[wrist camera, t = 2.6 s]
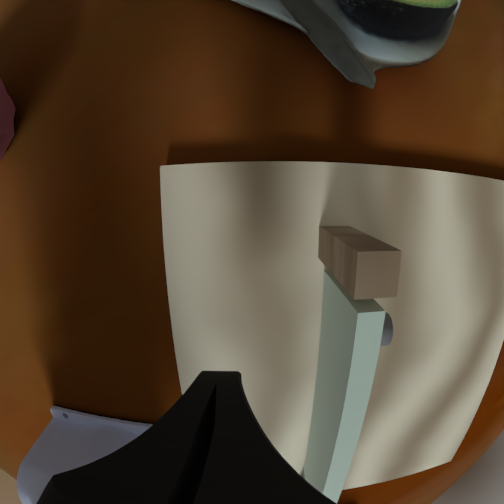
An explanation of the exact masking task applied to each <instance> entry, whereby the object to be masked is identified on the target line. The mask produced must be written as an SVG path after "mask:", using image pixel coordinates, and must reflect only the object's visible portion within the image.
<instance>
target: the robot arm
mask: <svg viewBox="0 0 504 504" xmlns="http://www.w3.org/2000/svg"><path fill="white" fill-rule="evenodd" d="M50 410H51V413H52V415H53V417H54V418H53V419H52V420H51V421H50V423H49V424H48V425H47V427H46V428H45V430H44V431H43V432H42V434H41V435H40V436H39V438H38V439H37V441H36V442H35V443H34V445H33V446H32V448H31V449H30V450H29V452H28V453H27V455H26V456H25V458H24V459H23V461H22V463H21V464H20V467H19V470H18V474H17V491H18V494H19V497H20V499H21V501H22V503H23V504H336V503H335V502H333V501H332V500H331V499H329V498H328V497H326V496H325V495H323V494H322V493H321V492H320V491H318V490H317V489H316V488H314V487H313V486H312V485H311V484H310V483H308V482H307V481H306V480H305V479H304V478H303V477H302V476H300V475H299V474H298V473H297V472H296V470H295V469H294V468H293V467H292V466H291V465H290V464H289V463H288V462H287V461H286V460H285V459H284V458H283V457H282V456H281V454H280V453H279V452H278V451H277V449H276V448H275V447H274V446H273V444H272V443H271V441H270V440H269V439H268V437H267V436H266V434H265V433H264V431H263V430H262V428H261V426H260V424H259V423H258V421H257V419H256V417H255V415H254V413H253V411H252V409H251V407H250V405H249V402H248V400H247V398H246V395H245V392H244V389H243V385H242V376H241V373H240V372H239V371H201V372H200V373H199V375H198V376H197V377H196V379H195V380H194V381H193V383H192V384H191V385H190V386H189V388H188V389H187V390H186V391H185V393H184V394H183V395H182V396H181V397H180V398H179V399H178V401H177V402H176V403H175V404H174V405H173V406H172V407H171V408H170V409H169V410H168V411H167V412H166V413H165V414H164V415H163V416H162V417H161V418H160V419H159V420H158V421H157V422H156V423H154V424H146V423H138V422H131V421H125V420H119V419H113V418H107V417H102V416H97V415H92V414H87V413H82V412H78V411H74V410H69V409H65V408H61V407H58V406H52V407H51V409H50Z"/></svg>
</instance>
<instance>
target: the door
mask: <svg viewBox="0 0 504 504" xmlns="http://www.w3.org/2000/svg"><path fill="white" fill-rule="evenodd" d="M385 312H386V311H385V310H384V309H383V308H382V307H381V306H380V305H379V304H378V303H377V302H376V301H375V300H374V299H357V300H354V299H353V298H352V297H351V296H350V294H349V293H348V292H347V291H346V290H345V288H344V287H343V286H342V285H341V284H340V283H339V281H338V280H337V279H336V278H335V277H334V276H333V274H332V273H331V272H330V271H329V270H327V271H324V285H323V303H322V318H321V331H320V343H319V355H318V365H317V375H316V385H315V393H314V402H313V410H312V418H311V425H310V432H309V439H308V446H307V453H306V459H305V465H304V470H303V471H302V472H303V478H304V479H305V480H306V481H307V482H308V483H310V484H311V485H312V486H313V487H314V488H316V489H317V490H318V491H320V492H321V493H322V494H323V495H325V496H326V497H328V498H329V499H331V500H332V501H333V502H335V503H336V504H337V502H338V499H339V496H340V494H341V491H342V488H343V486H344V483H345V480H346V477H347V474H348V471H349V468H350V465H351V462H352V459H353V456H354V453H355V449H356V446H357V443H358V439H359V436H360V432H361V429H362V425H363V421H364V417H365V414H366V410H367V406H368V402H369V397H370V393H371V389H372V384H373V380H374V375H375V370H376V365H377V360H378V355H379V349H380V346H387V345H389V344H390V343H391V341H392V338H393V323H392V319H391V317H390V315H389V314H388V313H385Z"/></svg>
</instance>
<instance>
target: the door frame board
mask: <svg viewBox="0 0 504 504" xmlns="http://www.w3.org/2000/svg"><path fill="white" fill-rule="evenodd" d="M160 185H161V210H162V229H163V244H164V257H165V269H166V280H167V290H168V300H169V309H170V317H171V325H172V333H173V341H174V348H175V355H176V361H177V368H178V374H179V380H180V386H181V392H182V395H183V394H184V393H185V391H186V390H187V389H188V388H189V386H190V385H191V384H192V383H193V381H194V380H195V379H196V377H197V376H198V375H199V373H200V372H201V371H239V372H240V373H241V376H242V385H243V389H244V392H245V395H246V398H247V400H248V402H249V405H250V407H251V409H252V411H253V413H254V415H255V417H256V419H257V421H258V423H259V424H260V426H261V428H262V430H263V431H264V433H265V434H266V436H267V437H268V439H269V440H270V441H271V443H272V444H273V446H274V447H275V448H276V449H277V451H278V452H279V453H280V454H281V456H282V457H283V458H284V459H285V460H286V461H287V462H288V463H289V464H290V465H291V466H292V467H293V468H294V469H295V470H296V472H297V473H298V474H299V475H300V476H302V477H303V472H302V471H303V470H304V465H305V459H306V453H307V446H308V439H309V432H310V425H311V418H312V410H313V402H314V393H315V385H316V375H317V365H318V355H319V343H320V331H321V318H322V303H323V285H324V271H327V270H329V271H330V272H331V273H332V274H333V276H334V277H335V278H336V279H337V280H338V281H339V283H340V284H341V285H342V286H343V287H344V288H345V290H346V291H347V292H348V293H349V294H350V296H351V297H352V298H353V299H354V300H357V299H374V300H375V301H376V302H377V303H378V304H379V305H380V306H381V307H382V308H383V309H384V310H385V311H386V312H385V313H388V314H389V315H390V317H391V319H392V323H393V338H392V341H391V343H390V344H389V345H387V346H380V349H379V355H378V360H377V365H376V370H375V375H374V380H373V384H372V389H371V393H370V397H369V402H368V406H367V410H366V414H365V417H364V421H363V425H362V429H361V432H360V436H359V439H358V443H357V446H356V449H355V453H354V456H353V459H352V462H351V465H350V468H349V471H348V474H347V477H346V480H345V483H344V486H343V488H342V490H345V489H350V488H356V487H361V486H366V485H371V484H375V483H380V482H384V481H388V480H392V479H396V478H400V477H403V476H407V475H410V474H414V473H417V472H420V471H423V470H426V469H430V468H432V467H435V466H438V465H441V464H444V463H447V462H449V461H451V460H452V458H453V456H454V455H455V453H456V451H457V449H458V447H459V446H460V444H461V442H462V440H463V438H464V436H465V434H466V432H467V430H468V428H469V426H470V424H471V422H472V420H473V418H474V416H475V414H476V412H477V409H478V407H479V405H480V403H481V400H482V398H483V396H484V393H485V391H486V388H487V386H488V383H489V381H490V378H491V376H492V373H493V370H494V367H495V365H496V362H497V359H498V356H499V353H500V350H501V346H502V343H503V340H504V181H503V180H498V179H492V178H486V177H480V176H474V175H467V174H460V173H453V172H445V171H437V170H428V169H419V168H409V167H398V166H386V165H373V164H357V163H336V162H304V161H248V162H215V163H195V164H178V165H164V166H160Z"/></svg>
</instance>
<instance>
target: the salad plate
mask: <svg viewBox="0 0 504 504" xmlns="http://www.w3.org/2000/svg"><path fill="white" fill-rule="evenodd" d="M231 1H234V2H236V3H239V4H241V5H243V6H245V7H248V8H251V9H254V10H257V11H259V12H262V13H265V14H267V15H269V16H271V17H273V18H276V19H278V20H280V21H283V22H285V23H287V24H290V25H292V26H294V27H295V28H297V29H299V30H300V31H302V32H303V33H305V34H306V35H307V36H309V38H310V40H311V42H312V43H313V44H314V45H315V46H316V47H317V48H318V50H319V51H320V52H321V53H322V54H323V55H324V56H325V58H326V59H328V60H329V61H330V62H331V63H332V65H333V66H334V67H336V68H337V69H338V70H339V71H340V72H341V73H342V74H343V75H344V76H345V77H346V79H347V80H349V81H350V82H353V83H358V84H361V85H364V86H366V87H368V88H371V89H373V88H374V85H375V81H376V76H375V74H374V72H375V71H376V70H378V69H381V68H390V67H403V66H413V65H418V64H420V63H422V62H426V61H428V60H430V59H431V58H433V57H434V56H435V55H436V54H437V53H438V52H439V51H440V49H441V48H442V47H443V45H444V44H445V42H446V40H447V38H448V36H449V34H450V31H451V28H452V25H453V22H454V20H455V17H456V13H457V11H458V9H459V6H460V2H461V0H231Z"/></svg>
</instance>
